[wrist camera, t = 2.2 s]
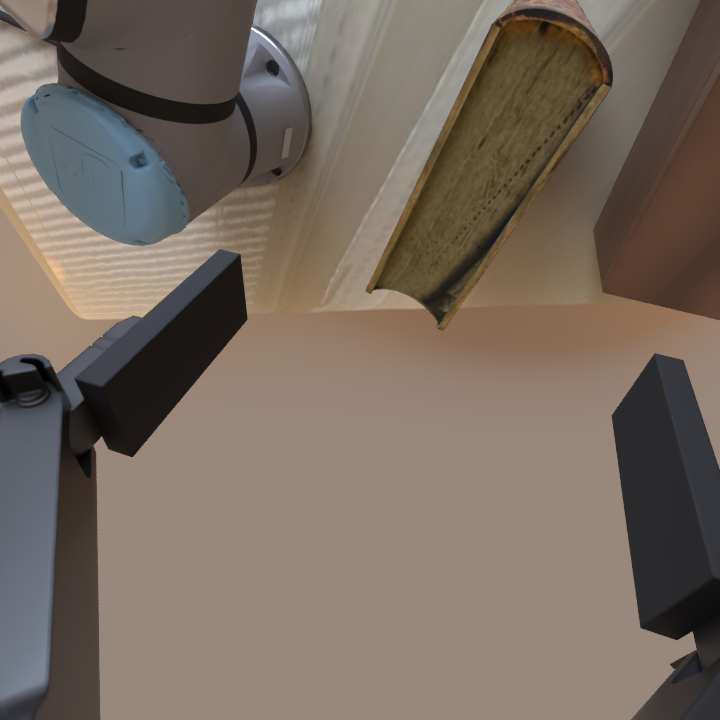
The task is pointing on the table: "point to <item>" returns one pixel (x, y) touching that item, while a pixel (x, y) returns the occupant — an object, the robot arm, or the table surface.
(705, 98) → the shelf
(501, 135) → the book
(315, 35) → the table surface
